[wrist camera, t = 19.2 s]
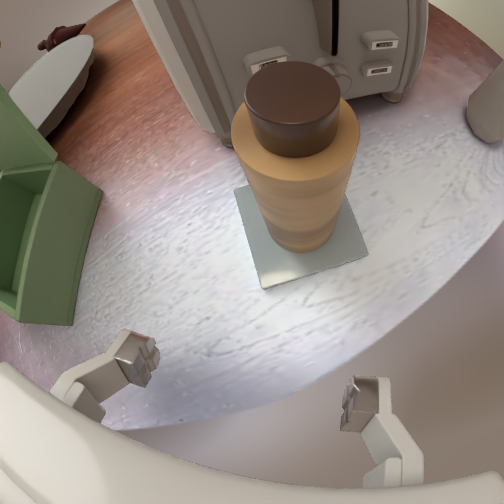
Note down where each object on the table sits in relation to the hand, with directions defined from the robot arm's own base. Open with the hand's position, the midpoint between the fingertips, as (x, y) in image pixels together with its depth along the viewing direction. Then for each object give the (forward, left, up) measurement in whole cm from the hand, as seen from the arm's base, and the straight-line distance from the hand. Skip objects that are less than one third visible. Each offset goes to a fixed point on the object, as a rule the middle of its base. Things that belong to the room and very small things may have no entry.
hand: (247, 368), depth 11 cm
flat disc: (+41, +27, -9) cm, 50 cm away
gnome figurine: (+61, +25, -9) cm, 67 cm away
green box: (+14, +21, -9) cm, 27 cm away
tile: (+8, -4, -9) cm, 13 cm away
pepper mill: (+8, -5, -9) cm, 13 cm away
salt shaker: (+12, -27, -9) cm, 31 cm away
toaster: (+35, -9, -9) cm, 38 cm away
